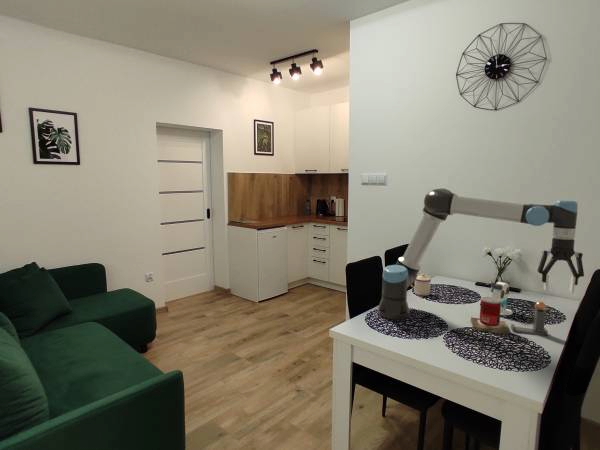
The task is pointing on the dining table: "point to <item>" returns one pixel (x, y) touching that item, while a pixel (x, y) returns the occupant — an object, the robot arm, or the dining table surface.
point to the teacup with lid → (422, 285)
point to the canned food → (490, 311)
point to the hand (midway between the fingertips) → (558, 291)
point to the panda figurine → (502, 296)
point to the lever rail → (528, 330)
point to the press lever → (539, 317)
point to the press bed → (489, 327)
